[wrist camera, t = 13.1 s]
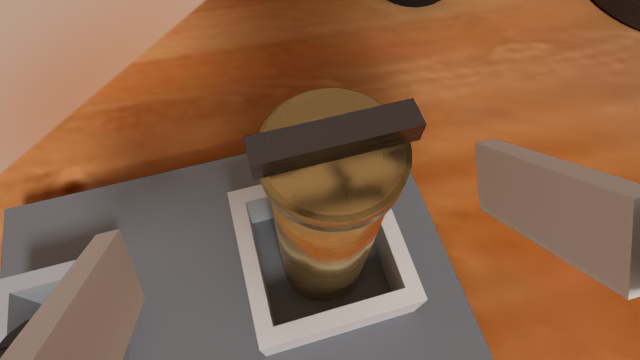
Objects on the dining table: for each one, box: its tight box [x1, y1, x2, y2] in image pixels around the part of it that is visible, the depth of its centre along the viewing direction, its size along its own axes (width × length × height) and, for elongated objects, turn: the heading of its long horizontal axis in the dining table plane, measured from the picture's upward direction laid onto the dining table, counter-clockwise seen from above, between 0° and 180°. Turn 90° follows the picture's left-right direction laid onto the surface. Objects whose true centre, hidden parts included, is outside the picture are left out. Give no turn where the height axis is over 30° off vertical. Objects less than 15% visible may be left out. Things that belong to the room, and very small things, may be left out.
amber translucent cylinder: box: [243, 88, 426, 301], centre depth 18 cm, size 5×5×13 cm
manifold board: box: [0, 153, 494, 360], centre depth 22 cm, size 24×16×5 cm, turn 106°
